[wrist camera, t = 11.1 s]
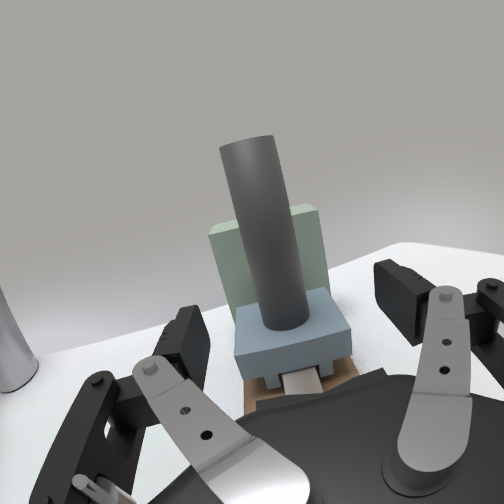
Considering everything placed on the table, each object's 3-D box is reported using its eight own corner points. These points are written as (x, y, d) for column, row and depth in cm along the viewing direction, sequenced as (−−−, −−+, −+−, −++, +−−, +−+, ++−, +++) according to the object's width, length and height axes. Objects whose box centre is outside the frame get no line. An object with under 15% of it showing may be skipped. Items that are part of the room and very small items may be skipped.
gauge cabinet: (241, 348, 27) (207, 236, 24) (241, 322, 32) (213, 225, 29) (335, 325, 27) (319, 210, 24) (323, 303, 32) (306, 203, 28)
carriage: (247, 393, 19) (174, 155, 14) (246, 341, 25) (195, 159, 21) (352, 368, 18) (319, 122, 14) (329, 321, 25) (296, 136, 20)
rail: (250, 535, 9) (235, 524, 8) (245, 344, 28) (238, 321, 27) (409, 496, 8) (422, 478, 7) (330, 325, 27) (327, 300, 27)
